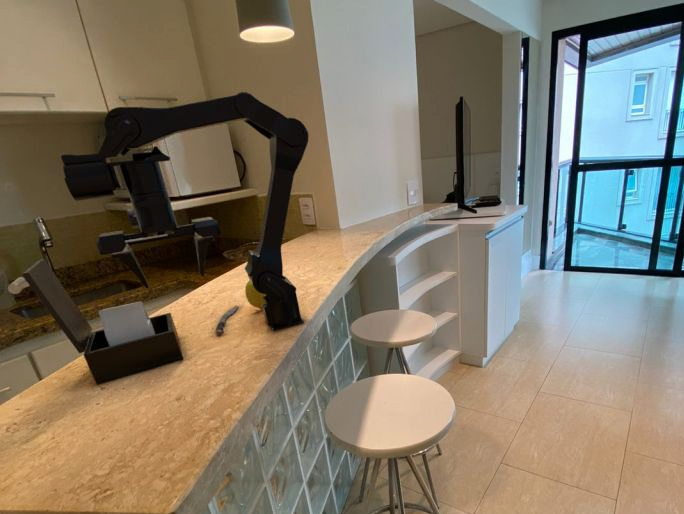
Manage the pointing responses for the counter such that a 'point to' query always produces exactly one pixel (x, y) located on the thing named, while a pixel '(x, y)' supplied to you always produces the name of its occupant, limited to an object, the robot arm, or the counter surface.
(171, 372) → the counter surface
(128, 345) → the black open box
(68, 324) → the box lid
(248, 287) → the lemon
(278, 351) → the counter surface
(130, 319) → the grey angular block
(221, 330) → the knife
